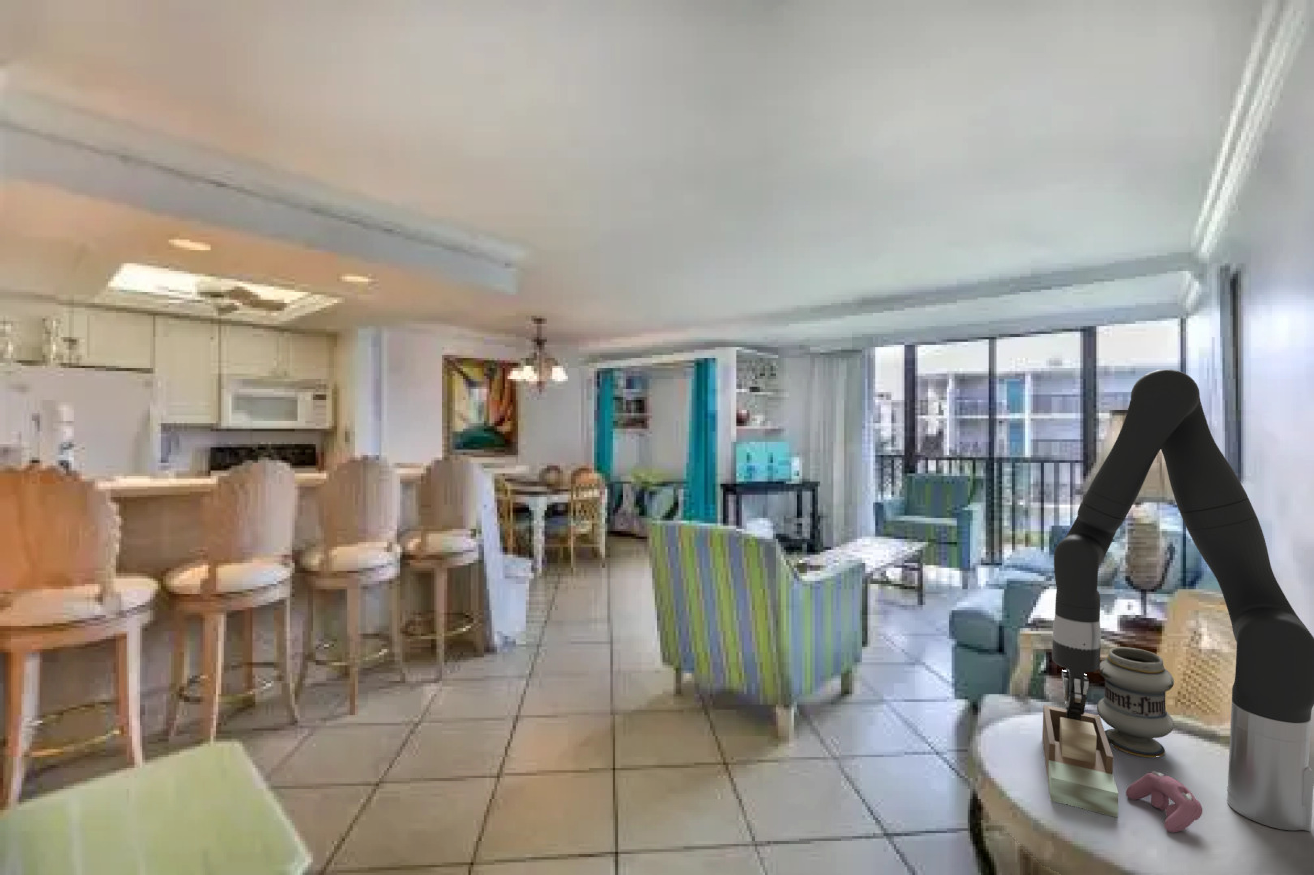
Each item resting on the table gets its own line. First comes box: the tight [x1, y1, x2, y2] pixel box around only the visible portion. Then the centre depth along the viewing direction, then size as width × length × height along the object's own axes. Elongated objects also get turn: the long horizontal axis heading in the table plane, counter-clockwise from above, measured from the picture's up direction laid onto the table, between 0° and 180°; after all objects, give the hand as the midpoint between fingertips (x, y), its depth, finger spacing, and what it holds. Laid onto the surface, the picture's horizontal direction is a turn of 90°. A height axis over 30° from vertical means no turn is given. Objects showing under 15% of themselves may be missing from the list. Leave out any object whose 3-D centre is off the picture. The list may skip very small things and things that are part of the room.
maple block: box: [1059, 717, 1097, 764], centre depth 114 cm, size 5×5×5 cm
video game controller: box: [1125, 770, 1203, 833], centre depth 103 cm, size 10×5×7 cm, turn 179°
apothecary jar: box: [1096, 646, 1175, 758], centre depth 124 cm, size 12×12×18 cm
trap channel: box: [1041, 704, 1119, 818], centre depth 114 cm, size 9×22×7 cm, turn 152°
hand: (1073, 730), depth 120 cm, fingers closed
